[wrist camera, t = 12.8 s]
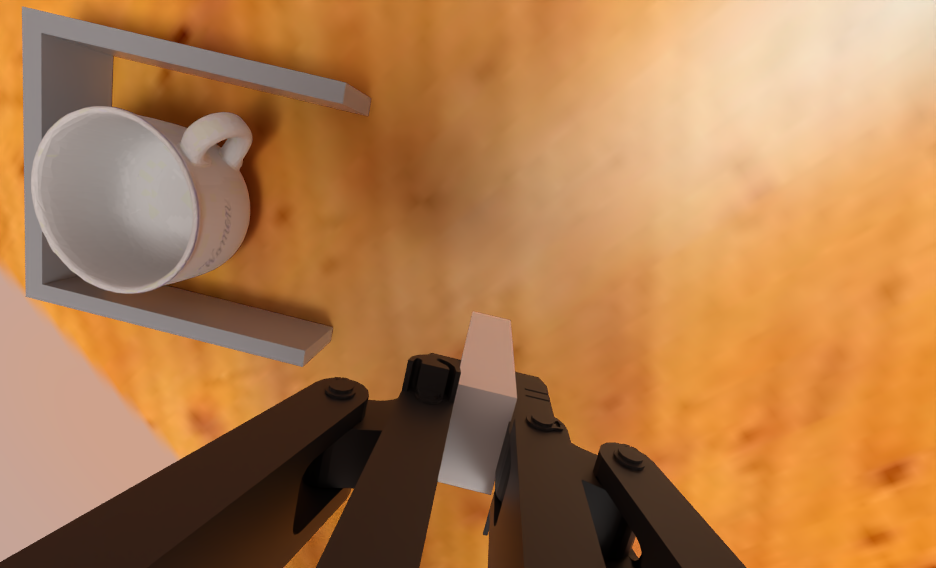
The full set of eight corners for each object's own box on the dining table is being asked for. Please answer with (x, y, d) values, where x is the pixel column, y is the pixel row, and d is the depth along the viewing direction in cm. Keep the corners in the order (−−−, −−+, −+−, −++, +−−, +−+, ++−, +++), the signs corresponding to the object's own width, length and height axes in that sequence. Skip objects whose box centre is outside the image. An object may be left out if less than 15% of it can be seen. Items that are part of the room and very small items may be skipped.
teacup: (178, 289, 35) (85, 320, 27) (106, 159, 33) (-16, 152, 25) (331, 222, 33) (276, 234, 25) (262, 78, 31) (180, 43, 23)
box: (330, 341, 35) (302, 366, 30) (91, 280, 35) (25, 296, 31) (371, 98, 31) (345, 82, 26) (97, 33, 31) (22, 6, 26)
